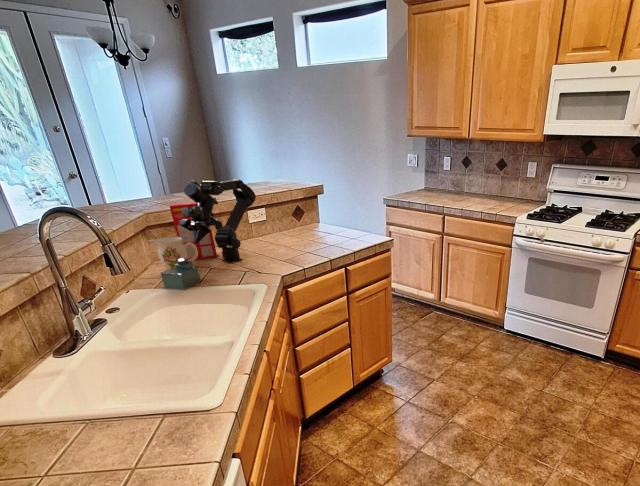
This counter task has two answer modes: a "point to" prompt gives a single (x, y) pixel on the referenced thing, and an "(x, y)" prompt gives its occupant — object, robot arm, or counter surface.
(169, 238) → the pitcher
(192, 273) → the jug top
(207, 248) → the food packaging
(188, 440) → the counter surface
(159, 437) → the counter surface
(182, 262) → the lid button
